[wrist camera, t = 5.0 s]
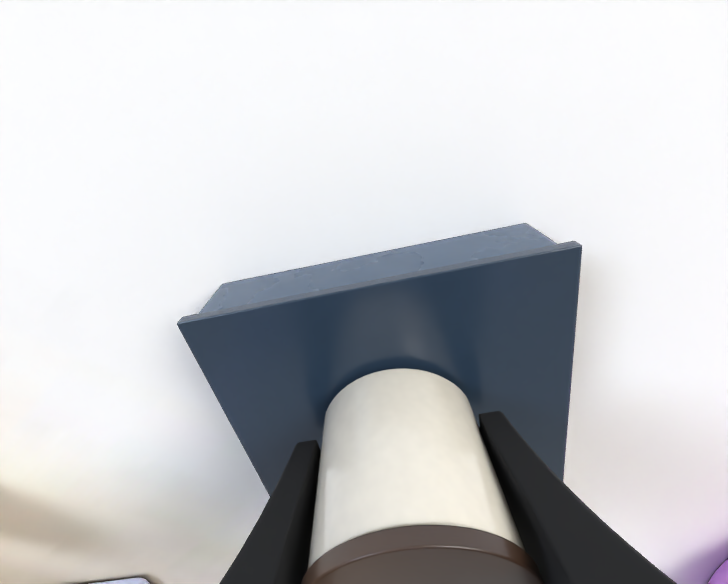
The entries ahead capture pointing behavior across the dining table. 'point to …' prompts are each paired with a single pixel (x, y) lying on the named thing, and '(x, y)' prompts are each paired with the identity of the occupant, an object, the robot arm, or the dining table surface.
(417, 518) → the canister
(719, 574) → the teapot
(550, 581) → the robot arm
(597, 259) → the dining table surface
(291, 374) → the dark blue square tile
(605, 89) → the dining table surface
